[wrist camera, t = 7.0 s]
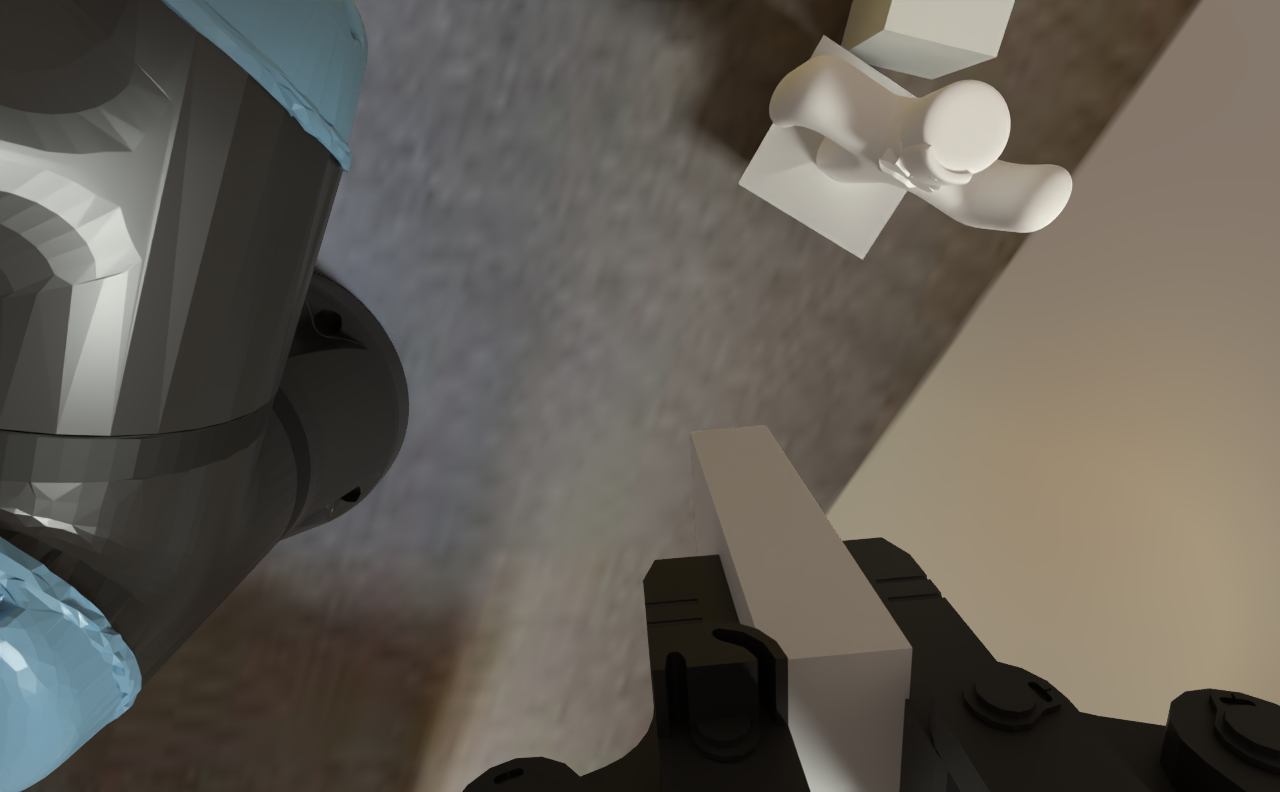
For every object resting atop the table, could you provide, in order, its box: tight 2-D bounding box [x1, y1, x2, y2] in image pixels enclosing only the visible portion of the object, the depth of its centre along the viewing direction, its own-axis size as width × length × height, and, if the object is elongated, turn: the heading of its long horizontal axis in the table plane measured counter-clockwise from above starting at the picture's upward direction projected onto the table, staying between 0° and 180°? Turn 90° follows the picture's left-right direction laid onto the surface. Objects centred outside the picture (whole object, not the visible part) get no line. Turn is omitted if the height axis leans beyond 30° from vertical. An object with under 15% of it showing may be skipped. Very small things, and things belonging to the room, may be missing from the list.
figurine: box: [738, 35, 1072, 260], centre depth 27 cm, size 7×9×15 cm
